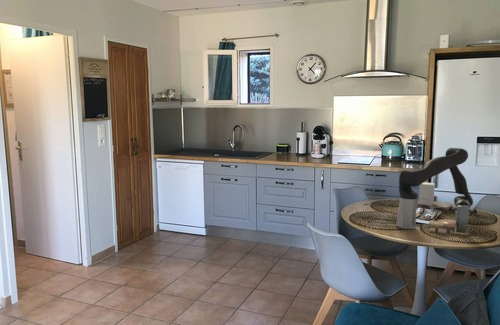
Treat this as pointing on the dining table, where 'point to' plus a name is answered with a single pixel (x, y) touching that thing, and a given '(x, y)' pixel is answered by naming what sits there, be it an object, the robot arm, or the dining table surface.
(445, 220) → the tan round piece
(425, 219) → the dining table surface
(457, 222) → the tea canister
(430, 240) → the dining table surface
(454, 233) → the balance
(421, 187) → the supplement box
